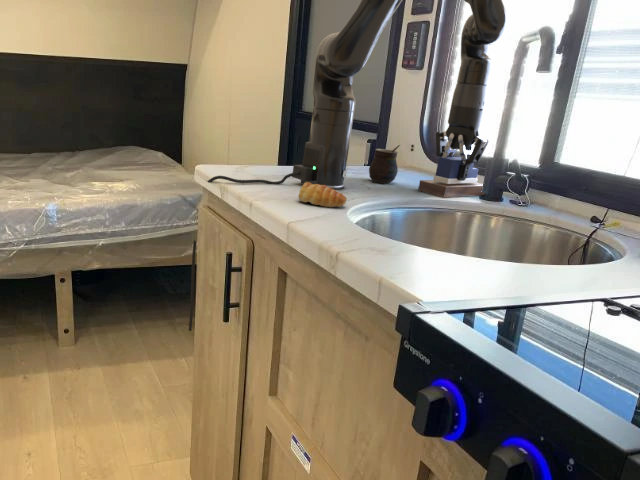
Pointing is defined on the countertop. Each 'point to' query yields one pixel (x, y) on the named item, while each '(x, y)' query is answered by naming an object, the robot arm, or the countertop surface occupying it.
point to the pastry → (321, 195)
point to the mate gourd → (384, 166)
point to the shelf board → (451, 189)
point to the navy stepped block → (453, 171)
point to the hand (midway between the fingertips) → (452, 177)
